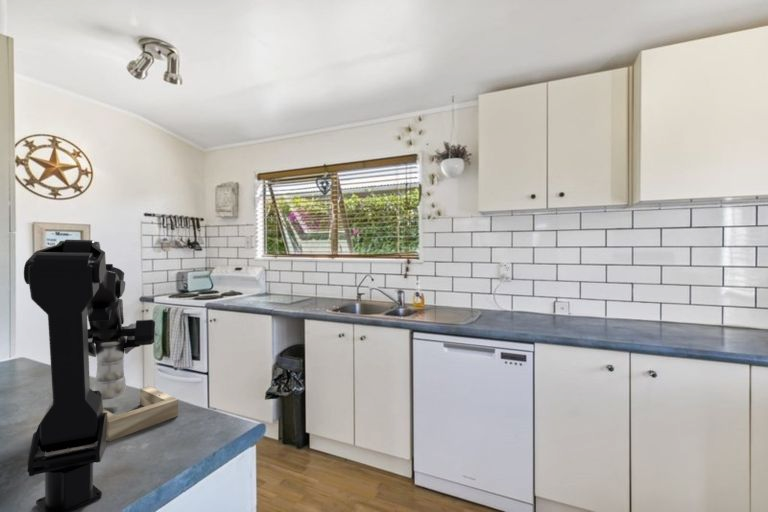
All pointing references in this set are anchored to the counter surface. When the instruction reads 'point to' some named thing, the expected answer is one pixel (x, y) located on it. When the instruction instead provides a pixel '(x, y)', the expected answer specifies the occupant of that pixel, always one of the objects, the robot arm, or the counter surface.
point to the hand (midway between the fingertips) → (111, 353)
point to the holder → (142, 414)
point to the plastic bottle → (110, 369)
